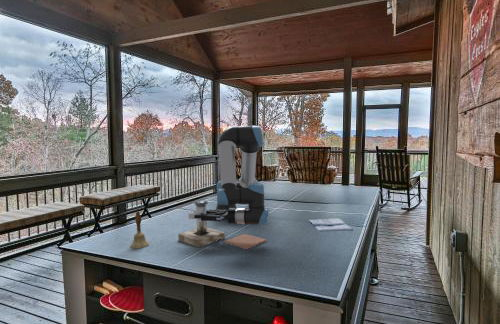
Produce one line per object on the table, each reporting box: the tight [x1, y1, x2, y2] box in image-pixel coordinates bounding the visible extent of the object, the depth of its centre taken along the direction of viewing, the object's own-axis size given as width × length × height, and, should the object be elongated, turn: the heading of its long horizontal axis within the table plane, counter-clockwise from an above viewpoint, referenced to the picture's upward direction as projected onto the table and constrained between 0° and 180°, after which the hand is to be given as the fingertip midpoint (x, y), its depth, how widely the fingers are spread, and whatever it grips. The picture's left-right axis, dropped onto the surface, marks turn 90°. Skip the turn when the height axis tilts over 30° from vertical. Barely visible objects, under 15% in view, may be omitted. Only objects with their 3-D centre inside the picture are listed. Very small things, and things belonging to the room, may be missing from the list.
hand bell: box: [129, 211, 150, 249], centre depth 140 cm, size 8×8×16 cm
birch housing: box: [177, 227, 226, 248], centre depth 148 cm, size 16×16×3 cm
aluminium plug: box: [194, 199, 209, 235], centre depth 148 cm, size 6×6×16 cm
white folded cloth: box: [308, 217, 353, 232], centre depth 168 cm, size 19×20×2 cm
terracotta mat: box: [223, 233, 267, 250], centre depth 142 cm, size 14×14×1 cm
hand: (191, 214), depth 149 cm, fingers closed on aluminium plug, 5 cm apart
